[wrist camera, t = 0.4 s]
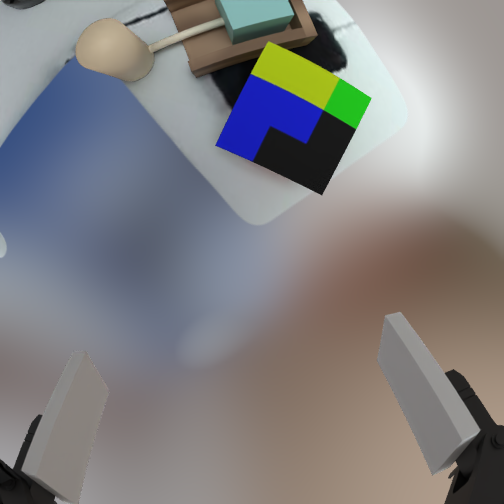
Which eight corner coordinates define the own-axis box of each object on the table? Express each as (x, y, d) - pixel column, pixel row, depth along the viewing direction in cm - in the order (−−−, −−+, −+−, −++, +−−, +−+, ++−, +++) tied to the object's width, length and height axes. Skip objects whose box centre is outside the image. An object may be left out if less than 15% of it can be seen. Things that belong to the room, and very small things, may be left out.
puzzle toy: (219, 139, 33) (215, 145, 24) (257, 63, 29) (268, 41, 20) (298, 175, 35) (321, 195, 26) (335, 103, 32) (371, 98, 22)
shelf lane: (168, 7, 25) (160, -7, 21) (276, -24, 24) (281, -40, 20) (196, 77, 29) (191, 71, 25) (307, 44, 28) (317, 35, 24)
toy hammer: (108, 51, 27) (69, 33, 18) (265, -8, 25) (277, -47, 16) (122, 92, 29) (85, 84, 20) (283, 32, 28) (302, 2, 18)
